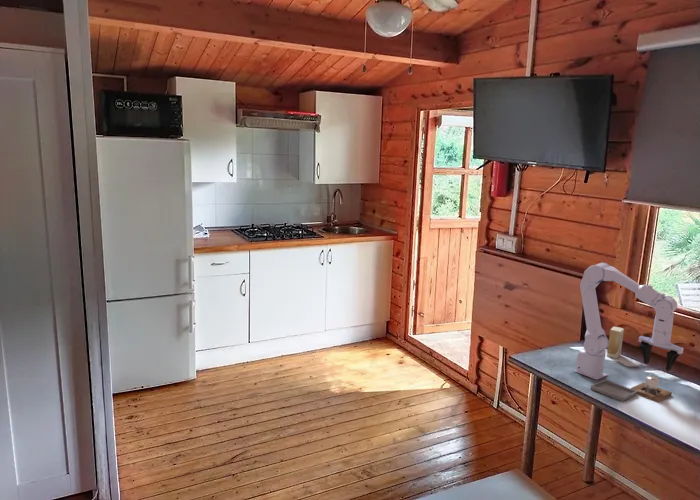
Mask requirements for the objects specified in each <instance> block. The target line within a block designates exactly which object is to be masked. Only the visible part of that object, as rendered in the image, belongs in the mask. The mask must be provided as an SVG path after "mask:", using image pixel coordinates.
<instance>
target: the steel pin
mask: <svg viewBox="0 0 700 500" xmlns="http://www.w3.org/2000/svg"><path fill="white" fill-rule="evenodd" d="M659 382H660V378H659V377H656V376H653V375H646V377H645V382H644V383H645V390H643V391H646V392H648V393H651V394H654V395H656V394H658V393H657V390H658V388H659Z"/></svg>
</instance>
